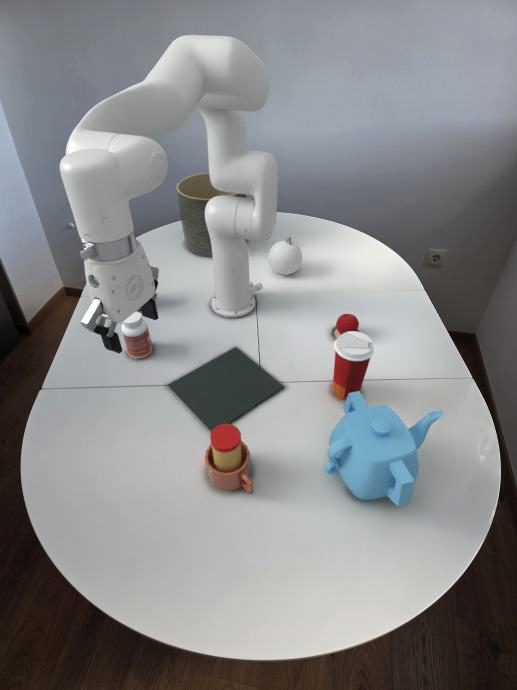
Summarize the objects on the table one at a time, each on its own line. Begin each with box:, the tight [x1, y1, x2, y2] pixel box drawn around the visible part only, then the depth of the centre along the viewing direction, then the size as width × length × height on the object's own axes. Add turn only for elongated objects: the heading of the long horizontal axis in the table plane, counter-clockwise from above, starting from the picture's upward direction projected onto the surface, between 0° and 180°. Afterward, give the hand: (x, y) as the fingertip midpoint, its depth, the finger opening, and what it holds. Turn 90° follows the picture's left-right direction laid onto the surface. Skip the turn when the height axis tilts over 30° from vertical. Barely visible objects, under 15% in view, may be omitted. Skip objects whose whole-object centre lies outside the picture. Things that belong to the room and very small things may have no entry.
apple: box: [329, 313, 362, 341], centre depth 111 cm, size 8×8×6 cm
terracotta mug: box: [204, 439, 254, 495], centre depth 81 cm, size 11×8×6 cm
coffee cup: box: [332, 331, 375, 401], centre depth 94 cm, size 8×8×15 cm
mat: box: [167, 346, 285, 432], centre depth 100 cm, size 20×18×1 cm
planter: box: [175, 172, 247, 258], centre depth 144 cm, size 22×22×20 cm
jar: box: [209, 423, 242, 473], centre depth 79 cm, size 5×5×11 cm
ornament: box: [267, 236, 303, 276], centre depth 132 cm, size 10×10×12 cm
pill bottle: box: [120, 310, 153, 359], centre depth 105 cm, size 6×6×11 cm
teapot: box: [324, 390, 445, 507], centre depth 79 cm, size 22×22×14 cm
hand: (133, 333), depth 74 cm, fingers open, 9 cm apart
